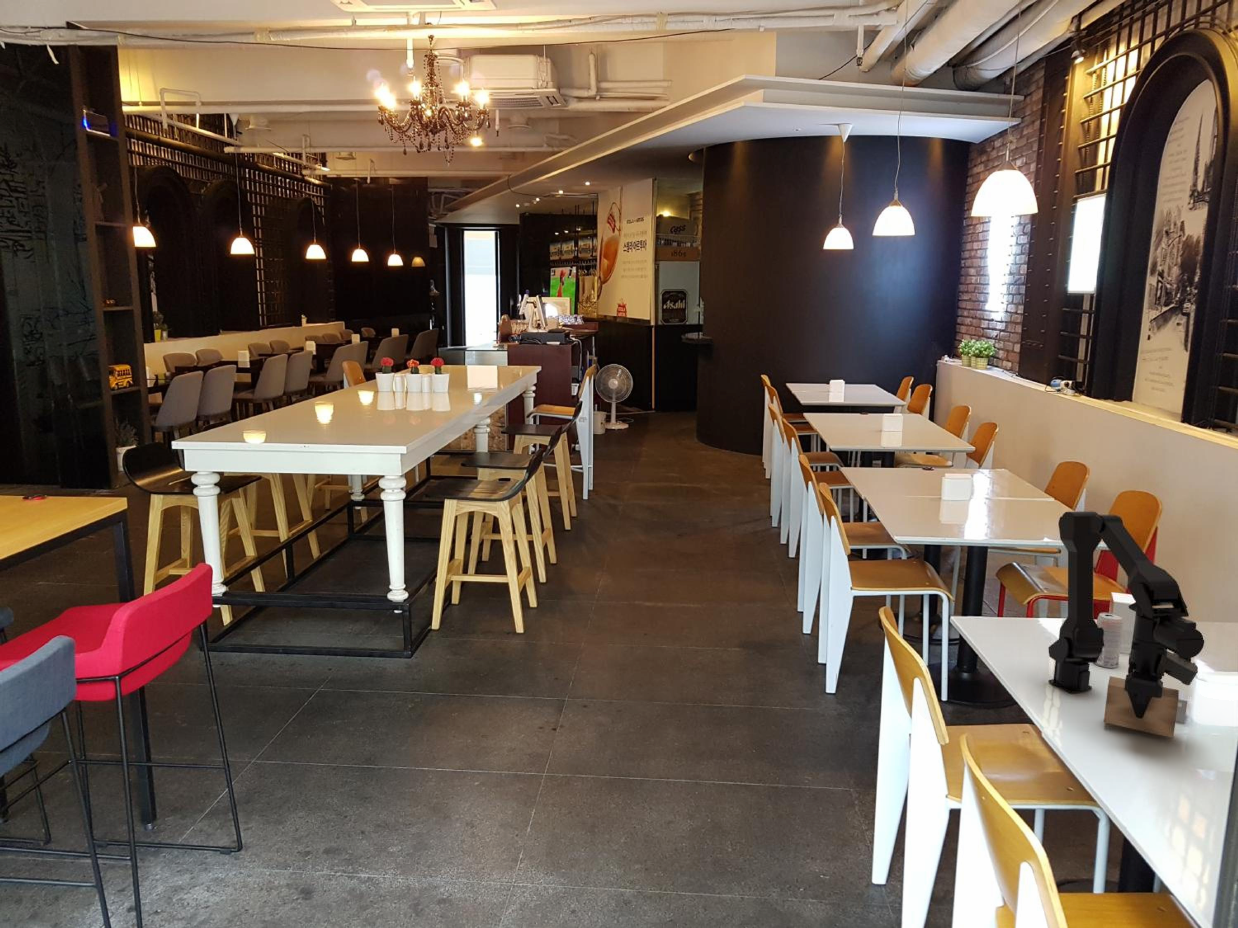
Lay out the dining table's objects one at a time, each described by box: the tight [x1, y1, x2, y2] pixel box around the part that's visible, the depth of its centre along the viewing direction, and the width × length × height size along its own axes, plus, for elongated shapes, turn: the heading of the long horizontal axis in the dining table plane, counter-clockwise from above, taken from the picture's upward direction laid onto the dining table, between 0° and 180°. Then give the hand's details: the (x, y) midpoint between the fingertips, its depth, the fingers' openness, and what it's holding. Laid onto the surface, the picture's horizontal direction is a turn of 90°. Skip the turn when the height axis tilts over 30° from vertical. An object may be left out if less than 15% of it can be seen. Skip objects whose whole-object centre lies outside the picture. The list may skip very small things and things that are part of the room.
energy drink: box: [1094, 612, 1124, 669], centre depth 214 cm, size 5×5×12 cm
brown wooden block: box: [1103, 675, 1180, 739], centre depth 180 cm, size 12×5×8 cm, turn 58°
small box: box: [1108, 591, 1136, 655], centre depth 225 cm, size 8×6×13 cm
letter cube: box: [1175, 690, 1189, 724], centre depth 188 cm, size 5×5×5 cm
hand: (1140, 712), depth 180 cm, fingers closed on brown wooden block, 5 cm apart
